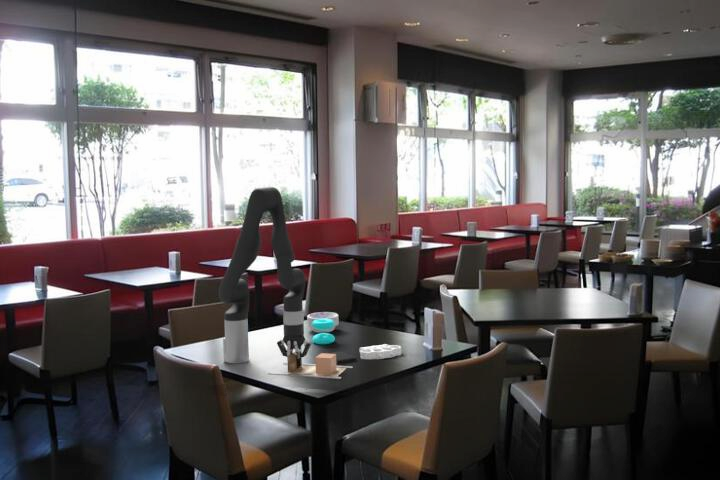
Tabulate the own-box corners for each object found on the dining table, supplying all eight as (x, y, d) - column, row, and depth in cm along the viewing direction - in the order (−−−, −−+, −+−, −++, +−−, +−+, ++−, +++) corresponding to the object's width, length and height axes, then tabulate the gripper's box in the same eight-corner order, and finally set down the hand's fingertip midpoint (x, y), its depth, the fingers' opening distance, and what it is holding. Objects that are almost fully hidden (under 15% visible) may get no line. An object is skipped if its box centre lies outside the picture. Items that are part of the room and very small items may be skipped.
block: (315, 373, 241) (315, 357, 240) (321, 368, 246) (320, 353, 246) (331, 374, 239) (330, 358, 239) (336, 369, 245) (336, 354, 244)
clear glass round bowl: (321, 336, 306) (320, 319, 306) (301, 331, 318) (300, 315, 317) (345, 330, 317) (345, 314, 316) (325, 326, 328) (325, 310, 327)
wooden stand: (285, 376, 241) (284, 357, 240) (297, 367, 253) (296, 349, 252) (336, 379, 235) (336, 360, 235) (346, 370, 247) (346, 352, 246)
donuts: (313, 318, 298) (335, 318, 298) (313, 339, 299) (335, 339, 299) (311, 322, 288) (333, 322, 288) (311, 345, 289) (334, 344, 289)
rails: (268, 377, 241) (268, 373, 241) (284, 366, 256) (284, 362, 256) (340, 382, 233) (340, 377, 233) (352, 370, 248) (352, 366, 248)
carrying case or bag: (362, 364, 257) (342, 356, 270) (362, 356, 257) (342, 349, 270) (338, 368, 252) (320, 360, 264) (338, 361, 251) (320, 353, 264)
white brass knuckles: (390, 349, 280) (407, 357, 267) (352, 354, 273) (367, 363, 260) (390, 341, 280) (407, 348, 267) (352, 347, 272) (367, 354, 259)
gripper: (272, 323, 243) (273, 369, 245) (307, 325, 239) (308, 371, 241) (280, 319, 250) (281, 363, 252) (314, 320, 246) (315, 365, 248)
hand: (294, 367), depth 246 cm, fingers closed on wooden stand, 2 cm apart
